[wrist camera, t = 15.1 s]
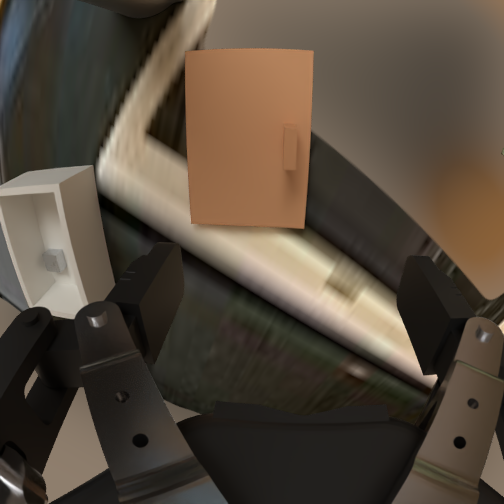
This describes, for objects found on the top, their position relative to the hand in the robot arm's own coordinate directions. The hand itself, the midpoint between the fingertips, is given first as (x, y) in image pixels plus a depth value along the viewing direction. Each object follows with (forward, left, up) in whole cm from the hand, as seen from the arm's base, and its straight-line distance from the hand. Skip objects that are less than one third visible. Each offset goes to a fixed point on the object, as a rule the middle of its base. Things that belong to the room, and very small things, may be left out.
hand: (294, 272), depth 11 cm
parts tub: (+31, +12, -27) cm, 43 cm away
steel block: (+34, +16, -26) cm, 46 cm away
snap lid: (+4, 0, -28) cm, 28 cm away
